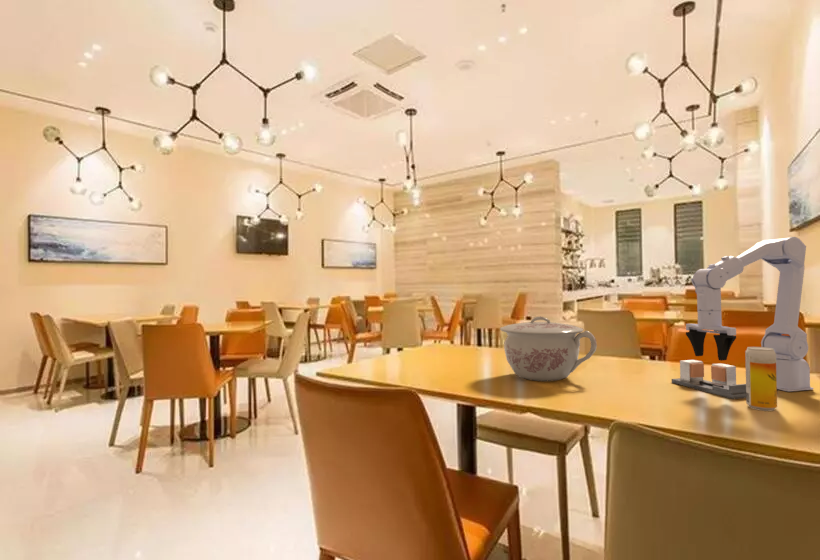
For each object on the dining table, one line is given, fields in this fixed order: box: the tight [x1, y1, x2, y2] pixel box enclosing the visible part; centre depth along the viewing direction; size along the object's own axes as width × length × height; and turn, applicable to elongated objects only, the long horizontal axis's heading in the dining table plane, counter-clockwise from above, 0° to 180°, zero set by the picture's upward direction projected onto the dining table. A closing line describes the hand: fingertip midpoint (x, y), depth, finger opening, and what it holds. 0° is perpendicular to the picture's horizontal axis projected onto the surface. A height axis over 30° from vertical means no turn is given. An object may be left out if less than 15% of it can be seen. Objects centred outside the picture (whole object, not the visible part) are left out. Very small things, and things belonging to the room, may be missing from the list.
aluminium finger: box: [710, 362, 737, 386], centre depth 138 cm, size 4×5×6 cm
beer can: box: [744, 346, 778, 412], centre depth 113 cm, size 6×6×15 cm
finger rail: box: [671, 359, 746, 400], centre depth 133 cm, size 21×8×7 cm, turn 13°
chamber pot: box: [499, 316, 598, 382], centre depth 153 cm, size 28×28×21 cm
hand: (710, 358), depth 129 cm, fingers open, 7 cm apart
